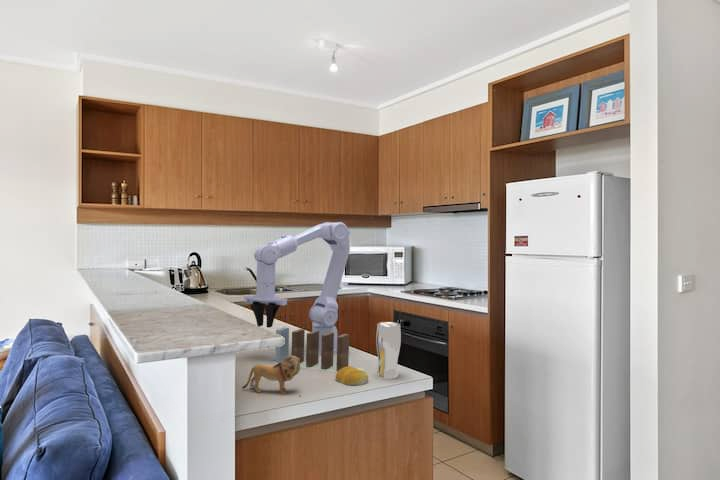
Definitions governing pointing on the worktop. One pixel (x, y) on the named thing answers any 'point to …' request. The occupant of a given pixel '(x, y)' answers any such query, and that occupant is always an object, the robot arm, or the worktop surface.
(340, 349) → the domino
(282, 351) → the domino
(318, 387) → the worktop surface
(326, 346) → the domino
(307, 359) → the domino
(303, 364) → the mat
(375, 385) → the worktop surface
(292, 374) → the lion figurine
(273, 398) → the worktop surface
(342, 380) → the bread roll
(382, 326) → the beer glass
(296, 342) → the domino
